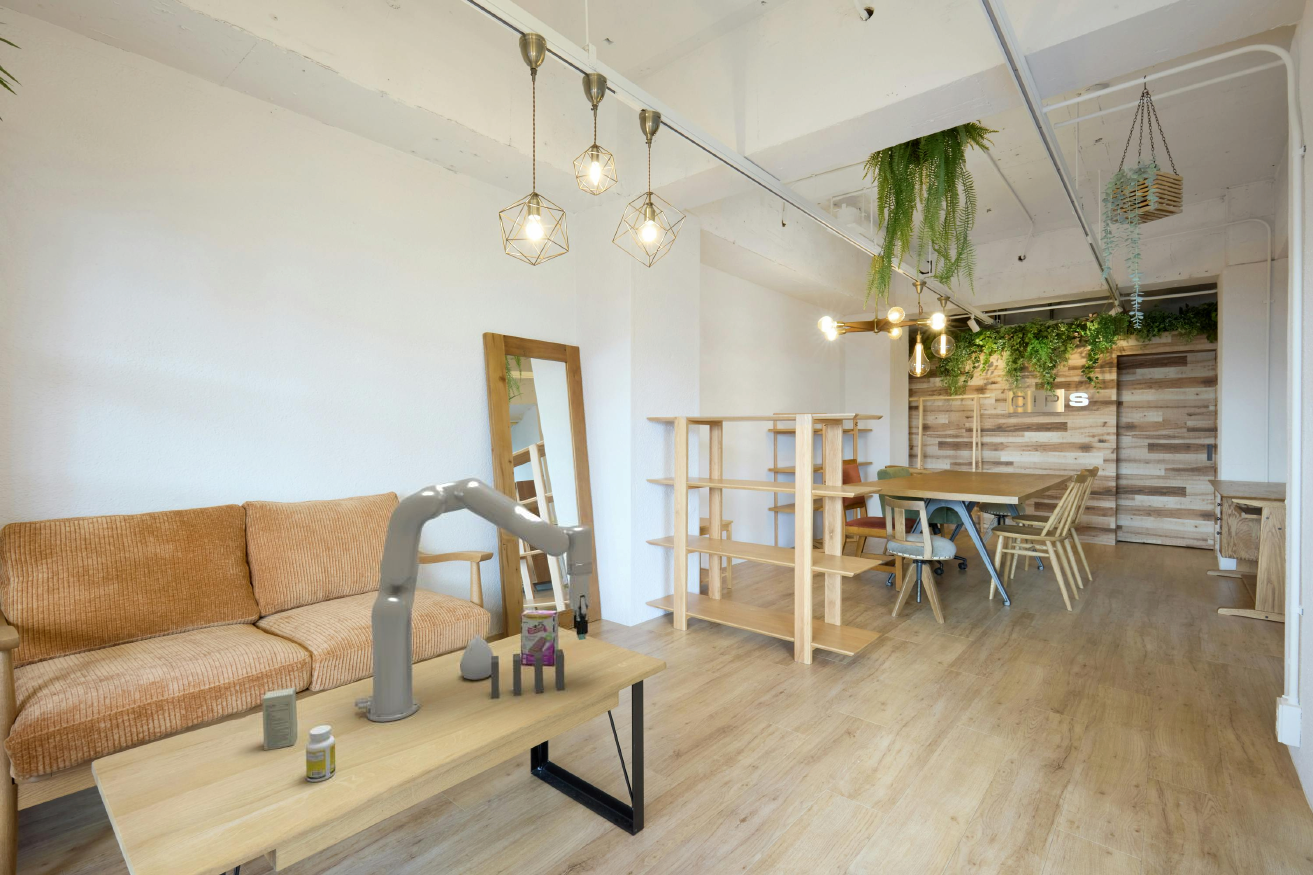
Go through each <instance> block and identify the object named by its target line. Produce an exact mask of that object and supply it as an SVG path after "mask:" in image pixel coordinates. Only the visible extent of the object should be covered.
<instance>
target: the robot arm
mask: <svg viewBox="0 0 1313 875" xmlns="http://www.w3.org/2000/svg"><path fill="white" fill-rule="evenodd" d="M461 510H468V511H469V512H471V513H473V514H475V515H477V516H479V517H480V518H482V519H484V520H486V521H487V522H489V523H491V524H493V525H494V526H495V527H498V528H499V529H501V530H503V531H505V532H506V533H508V534H510V535H513V536H514V537H516V538H518V539H519V540H522V542H523V541H524V542H525V543H527V544H528V545H530V546H532V547H534V548H535V549H537V550H539V551H541V552H543V553H544V554H546V555H548V556H550V557H554V558H555V557H557V558H558V557H561V556H563V555H564V554H566V555H565V558H566V559H565V560H566V575H567V576H568V577H569V580H568V582H569V583H568V584H569V585H568V588H569V589H568V604H569V606H570V608H571V609H572V611H573V629H575V630H576V636H577V635H581V634H586V635H587V634H588V633H589V630H588V629H589V627H588V625H589V620H588V610H589V609H590V605H591V604H590V603H591V600H590V598H591V597H590V596H591V595H590V594H591V593H590V591H591V590H590V575H592V574H593V533H592V532H593V531H592V528H591V527H590V526H589V525H582V524H581V525H580V524H578V525H571V526H558V525H552V524H551V523H549V522H547V521H546V520H544V519H542V518H541V517H540V516H537V515H536V514H534V513H533V512H532V511H530V510H529V509H528V508H526V507H525V506H524V505H523V504H521V503H520V502H518V501H516V500H515V499H512V498H511V497H509V496H508V495H506V494H504V493H502V492H501V491H499V490H497V489H495V488H494V487H492V486H490V485H488V484H487V483H485V482H483V481H482V480H481V479H480V478H475V477H467V478H465V479H460V480H455V481H450V482H446V483H445V482H444V483H440V484H434V485H430V486H426V487H423V488H421V489H420V490H418V491H416V492H414V493H412V494H410V495H409V496H407V497H405V498H403V499H402V500H401V501H400V502H399V503H398V504H396V506H395V508H394V509H393V511H392V513H391V515H390V517H389V520H388V525H387V530H386V535H385V541H384V546H383V552H382V553H383V554H382V556H381V557H382V558H381V561H380V565H379V573H380V579H379V583H378V584H379V585H378V592H377V597H376V599H375V601H374V603H373V606H372V609H371V615H370V618H371V619H370V620H371V634H372V636H371V638H372V680H373V681H372V691H373V692H372V695H371V696H370V695H369V696H368V697H366V698H363V697H362V698H361V697H360V698H355V700H354V707H355V708H358V710H362V709H364V710H365V709H367V710H366V717H367V719H368V720H370V721H372V722H373V721H374V722H382V723H384V722H393V721H397V720H398V721H399V720H401V719H404V718H407V717H408V716H411V715H413V714H414V713H416V712H417V711H418V709H419V708H420V702H419V700H417V699H416V698H414V697H413V632H412V631H413V628H412V625H413V624H412V623H413V622H412V621H413V620H412V616H413V614H412V612H413V608H414V607H413V606H414V601H415V594H416V588H417V580H418V574H419V567H420V557H419V549H420V542H421V538H422V531H423V528H424V526H425V524H427V522H429V521H431V520H434V519H437V518H438V517H440V516H441V515H442V514H443V515H444V514H447V513H452V512H457V511H461ZM578 607H581V609H579V608H578ZM576 610H577V620H576ZM580 611H581V613H580V614H579V612H580Z"/></svg>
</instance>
